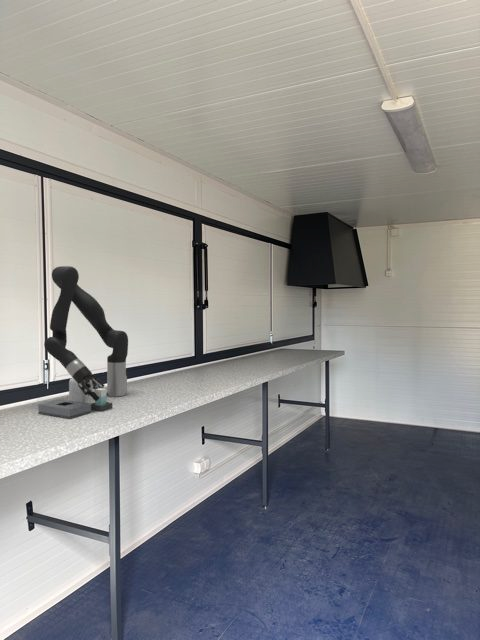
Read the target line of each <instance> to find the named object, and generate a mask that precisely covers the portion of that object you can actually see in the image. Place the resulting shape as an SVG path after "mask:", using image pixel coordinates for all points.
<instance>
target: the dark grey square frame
mask: <svg viewBox="0 0 480 640" xmlns="http://www.w3.org/2000/svg"><path fill="white" fill-rule="evenodd" d="M112 409H113V402H109V401H107V404H104V405H95V402H91V411H94V412H95V411H96V412H105V411H108V410H112Z"/></svg>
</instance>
